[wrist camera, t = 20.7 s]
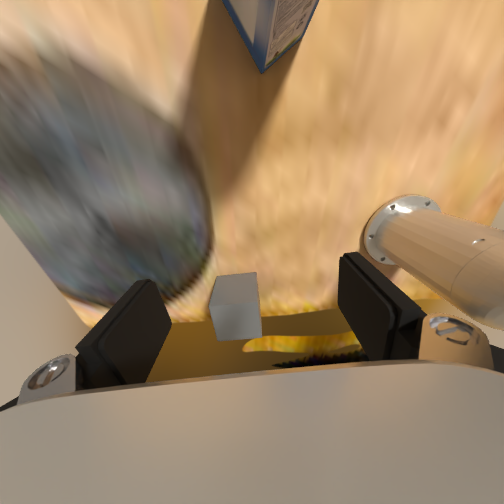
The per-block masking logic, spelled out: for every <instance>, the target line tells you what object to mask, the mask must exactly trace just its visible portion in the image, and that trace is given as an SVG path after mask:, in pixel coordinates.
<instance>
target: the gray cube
mask: <svg viewBox="0 0 504 504" xmlns="http://www.w3.org/2000/svg"><path fill="white" fill-rule="evenodd" d="M209 310H210V314H211V317H212V321H213V325H214V329H215V333H216V337H217V340H218V341H227V340H239V339H250V338H261V337H262V330H261V329H262V328H261V313H260V301H259V292H258V284H257V276H256V272H254V273H244V274H234V275H224V276H217V278H216V282H215V285H214V289H213V293H212V296H211V300H210V303H209Z"/></svg>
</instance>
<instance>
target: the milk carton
mask: <svg viewBox="0 0 504 504" xmlns="http://www.w3.org/2000/svg"><path fill="white" fill-rule="evenodd" d="M222 2H223V3H224V5H225V7H226V9H227V11H228V13H229V15H230V16H231V18H232V20H233V22H234V24H235V26H236V28H237V30H238V31H239V33H240V35H241V37H242V39H243V41H244V43H245V45H246V46H247V48H248V50H249V52H250V54H251V56H252V58H253V60H254V61H255V63H256V65H257V67H258V69H259V71H260V73H261V74H262V73H263V72H264V71H265V70H267V69H268V68H269V67H270V66H271V65H272V64H273V63H274V62H276V61H277V60H278V59H279V58H280V57H281V56H282V55H283V54H284V53H286V52H287V51H288V50H289V49H290V48H291V47H292V46H293V45H295V44H296V43H297V42H298V41H299V40H300V39H301V38H302V37H303V36H304V34H305V32H306V29H307V27H308V25H309V22H310V20H311V18H312V16H313V13H314V11H315V9H316V7H317V4H318V2H319V0H222Z"/></svg>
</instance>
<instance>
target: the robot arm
mask: <svg viewBox="0 0 504 504" xmlns="http://www.w3.org/2000/svg"><path fill="white" fill-rule="evenodd" d="M364 245H365V249H366V251H367V252H368V254H369V255H370V256H371V257H372V258H374V259H375V260H376V261H378V262H380V263H383V264H387V265H398V266H400V267H401V268H402V269H404V270H405V271H406V272H408V273H409V274H410V275H412V276H413V277H415V278H416V279H417V280H419V281H420V282H421V283H423V284H424V285H426V286H427V287H428V288H430V289H431V290H432V291H434V292H435V293H437V294H438V295H439V296H441V297H442V298H443V299H445V300H446V301H448V302H449V303H450V304H452V305H453V306H455V307H456V308H457V309H459V310H460V311H462V312H463V313H464V314H466V315H467V316H469V317H470V318H472V319H473V320H475V321H477V322H479V323H481V324H483V325H486V326H488V327H491V328H494V329H499V330H503V331H504V230H500V229H497V228H493V227H490V226H486V225H483V224H479V223H476V222H473V221H469V220H466V219H462V218H459V217H455V216H452V215H448V214H445V213H442V212H441V209H440V208H439V206H438V205H437V203H436V202H434V201H433V200H432V199H430V198H427V197H424V196H420V195H405V196H401V197H398V198H395V199H393V200H391V201H389V202H387V203H386V204H384V205H383V206H382V207H381V208H380V209H378V210H377V211H376V212H375V214H374V215H373V216H372V217H371V219H370V221H369V222H368V224H367V226H366V229H365V233H364ZM338 306H339V308H340V310H341V312H342V313H343V315H344V317H345V318H346V320H347V322H348V324H349V325H350V327H351V329H352V330H353V332H354V334H355V335H356V337H357V339H358V341H359V342H360V344H361V346H362V347H363V349H364V351H365V352H366V354H367V356H368V358H369V359H370V361H368V362H355V363H342V364H331V365H320V366H310V367H299V368H288V369H278V370H267V371H257V372H247V373H237V374H227V375H217V376H207V377H197V378H187V379H178V380H168V381H159V382H150V383H145V382H146V380H147V377H148V375H149V373H150V371H151V369H152V367H153V365H154V363H155V360H156V358H157V356H158V354H159V352H160V350H161V348H162V346H163V343H164V341H165V339H166V337H167V335H168V333H169V331H170V328H171V325H172V322H171V319H170V317H169V314H168V312H167V309H166V307H165V305H164V302H163V300H162V298H161V295H160V293H159V291H158V288H157V286H156V284H155V282H153V281H151V280H150V279H145V280H138V281H136V282H135V283H134V284H133V285H132V286H131V287H130V289H129V290H128V291H127V292H126V293H125V294H124V295H123V296H122V297H121V298H120V299H119V300H118V301H117V303H116V304H115V305H114V306H113V307H112V308H111V309H110V310H109V311H108V312H107V313H106V314H105V315H104V317H103V318H102V319H101V320H100V321H99V322H98V323H97V324H96V325H95V326H94V327H93V328H92V329H91V331H90V332H89V333H88V334H87V335H86V336H85V337H84V338H83V339H82V340H81V341H80V342H79V343H78V344H77V346H76V347H75V348H76V349H77V351H78V352H79V354H78V355H77V356H76V357H75V356H74V355H72V354H65V355H61V356H59V357H56V358H54V359H52V360H50V361H48V362H47V363H45V364H43V365H42V366H40V367H39V368H38V369H36V370H35V371H34V372H33V373H32V374H31V375H30V376H29V377H28V378H27V379H26V381H25V382H24V383H23V385H22V388H21V391H20V395H19V396H18V397H17V398H15V399H13V400H12V401H10V402H8V403H6V404H5V405H3V406H1V407H0V504H504V349H502V348H499V347H496V346H493V345H490V344H489V340H488V338H487V336H486V334H485V333H484V332H483V331H482V330H481V329H480V328H478V327H477V326H476V325H474V324H473V323H471V322H469V321H467V320H465V319H462V318H459V317H457V316H454V315H449V314H444V313H434V314H429V315H427V314H426V313H425V312H423V311H422V310H421V307H419V306H418V305H417V304H416V303H415V302H414V301H413V300H412V299H410V298H409V297H408V296H407V295H406V294H405V293H404V292H402V291H401V290H400V289H399V288H398V287H397V286H396V285H395V284H393V283H392V282H391V281H390V280H389V279H388V278H387V277H385V276H384V275H383V274H382V273H381V272H380V271H379V270H378V269H376V268H375V267H374V266H373V265H372V264H371V263H370V262H369V261H367V260H366V259H365V258H364V257H363V256H362V255H361V254H359V253H358V252H351V253H344V255H343V257H340V260H339V282H338Z"/></svg>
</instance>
